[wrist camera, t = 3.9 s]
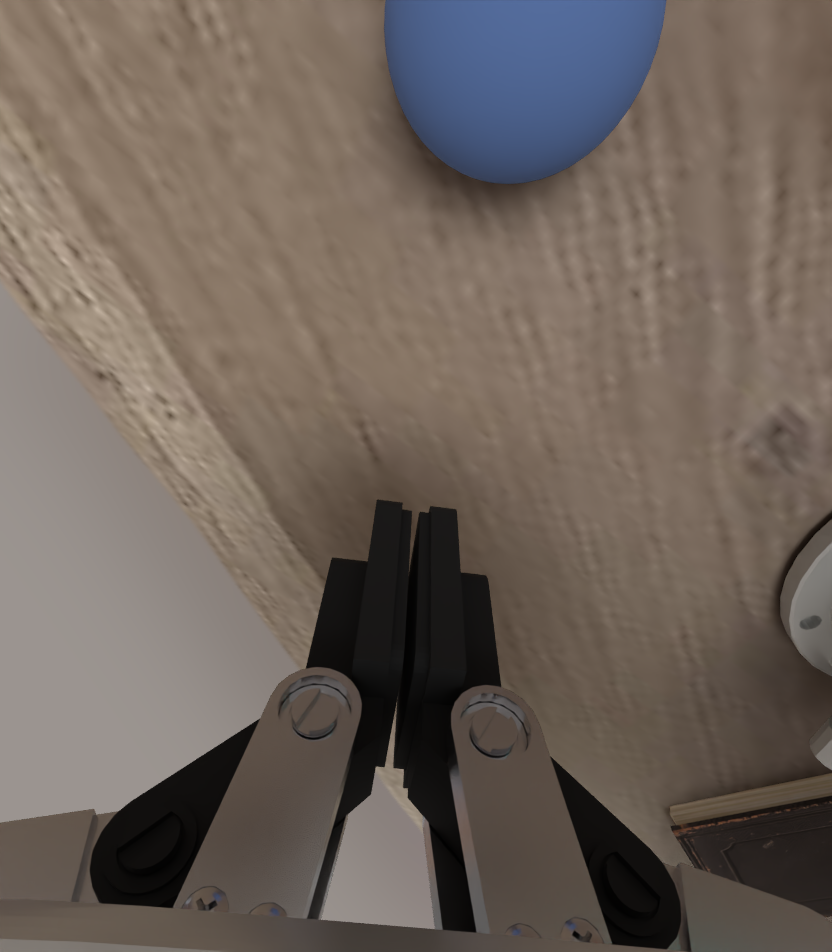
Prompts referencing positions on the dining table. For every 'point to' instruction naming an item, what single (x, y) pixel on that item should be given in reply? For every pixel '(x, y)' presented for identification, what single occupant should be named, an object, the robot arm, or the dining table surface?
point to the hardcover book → (765, 839)
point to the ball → (518, 78)
